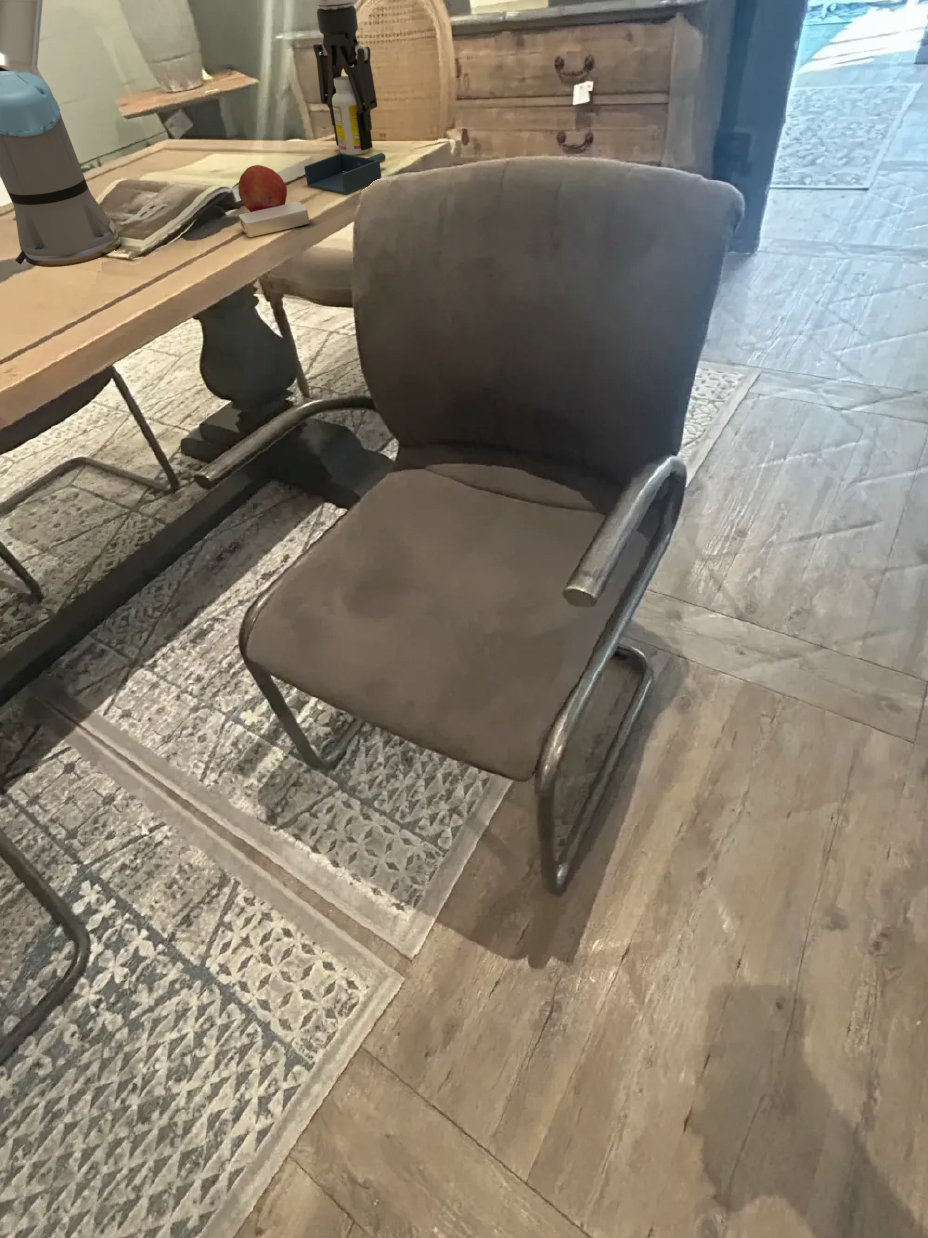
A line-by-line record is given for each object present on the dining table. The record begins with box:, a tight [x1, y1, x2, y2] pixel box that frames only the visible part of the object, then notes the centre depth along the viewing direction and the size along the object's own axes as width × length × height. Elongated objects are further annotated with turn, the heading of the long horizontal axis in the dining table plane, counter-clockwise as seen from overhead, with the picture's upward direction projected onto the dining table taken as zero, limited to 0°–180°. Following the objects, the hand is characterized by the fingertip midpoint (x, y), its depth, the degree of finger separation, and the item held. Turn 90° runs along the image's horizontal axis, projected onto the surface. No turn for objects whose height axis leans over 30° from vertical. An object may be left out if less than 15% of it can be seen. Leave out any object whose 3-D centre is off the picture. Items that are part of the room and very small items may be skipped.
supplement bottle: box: [332, 75, 371, 156], centre depth 149 cm, size 7×7×13 cm
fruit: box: [238, 164, 288, 213], centre depth 124 cm, size 8×8×10 cm
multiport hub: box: [238, 201, 311, 238], centre depth 122 cm, size 4×11×2 cm, turn 118°
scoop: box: [303, 152, 387, 196], centre depth 139 cm, size 17×10×3 cm, turn 142°
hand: (354, 146), depth 153 cm, fingers closed on supplement bottle, 7 cm apart
